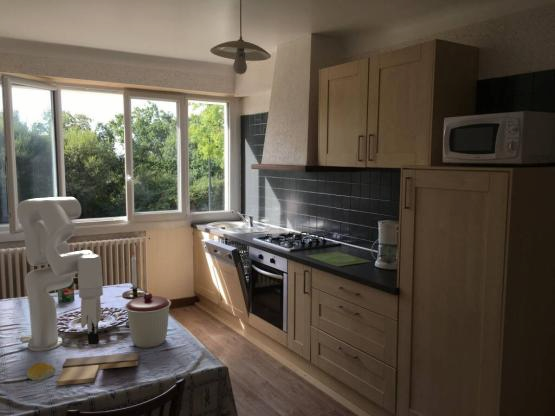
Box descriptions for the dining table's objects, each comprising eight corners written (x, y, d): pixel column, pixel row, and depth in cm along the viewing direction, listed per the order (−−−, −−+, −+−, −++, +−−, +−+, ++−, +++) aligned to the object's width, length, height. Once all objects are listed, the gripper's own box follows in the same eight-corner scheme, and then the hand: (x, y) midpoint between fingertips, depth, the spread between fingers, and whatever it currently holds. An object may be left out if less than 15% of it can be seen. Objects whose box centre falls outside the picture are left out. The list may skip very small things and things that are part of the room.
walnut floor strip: (62, 371, 167) (62, 366, 167) (66, 363, 173) (66, 358, 173) (138, 364, 173) (137, 359, 172) (139, 357, 178) (139, 352, 178)
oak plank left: (56, 385, 157) (56, 381, 156) (63, 372, 166) (63, 368, 166) (94, 381, 159) (94, 377, 159) (99, 368, 169) (98, 364, 169)
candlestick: (125, 330, 204) (121, 252, 200) (122, 321, 214) (119, 247, 209) (150, 326, 209) (147, 249, 204) (146, 318, 219) (144, 245, 214)
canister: (160, 354, 181) (159, 301, 178) (117, 350, 184) (115, 299, 182) (178, 335, 199) (177, 287, 196) (139, 332, 202) (137, 285, 199)
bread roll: (44, 367, 170) (43, 357, 170) (58, 374, 166) (58, 363, 165) (21, 377, 164) (20, 366, 163) (36, 384, 159) (35, 372, 158)
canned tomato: (63, 298, 247) (62, 278, 245) (77, 298, 246) (76, 278, 244) (54, 303, 239) (53, 282, 237) (69, 303, 238) (67, 283, 236)
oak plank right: (98, 369, 160) (99, 364, 160) (103, 368, 169) (103, 364, 170) (135, 365, 162) (135, 361, 163) (137, 365, 172) (137, 361, 172)
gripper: (83, 285, 163) (86, 335, 166) (73, 298, 149) (77, 353, 151) (106, 284, 165) (109, 333, 167) (98, 297, 150) (101, 351, 152)
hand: (93, 343), depth 159 cm, fingers closed
